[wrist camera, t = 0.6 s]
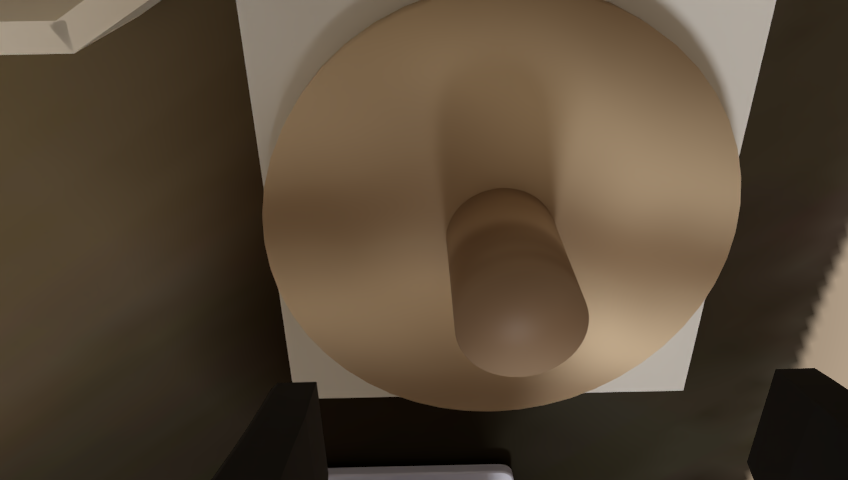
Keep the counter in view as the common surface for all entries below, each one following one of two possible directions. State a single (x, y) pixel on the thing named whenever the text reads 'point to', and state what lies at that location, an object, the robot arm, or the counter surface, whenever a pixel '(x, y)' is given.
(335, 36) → the mat
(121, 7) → the bowl
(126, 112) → the counter surface
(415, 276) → the lid
